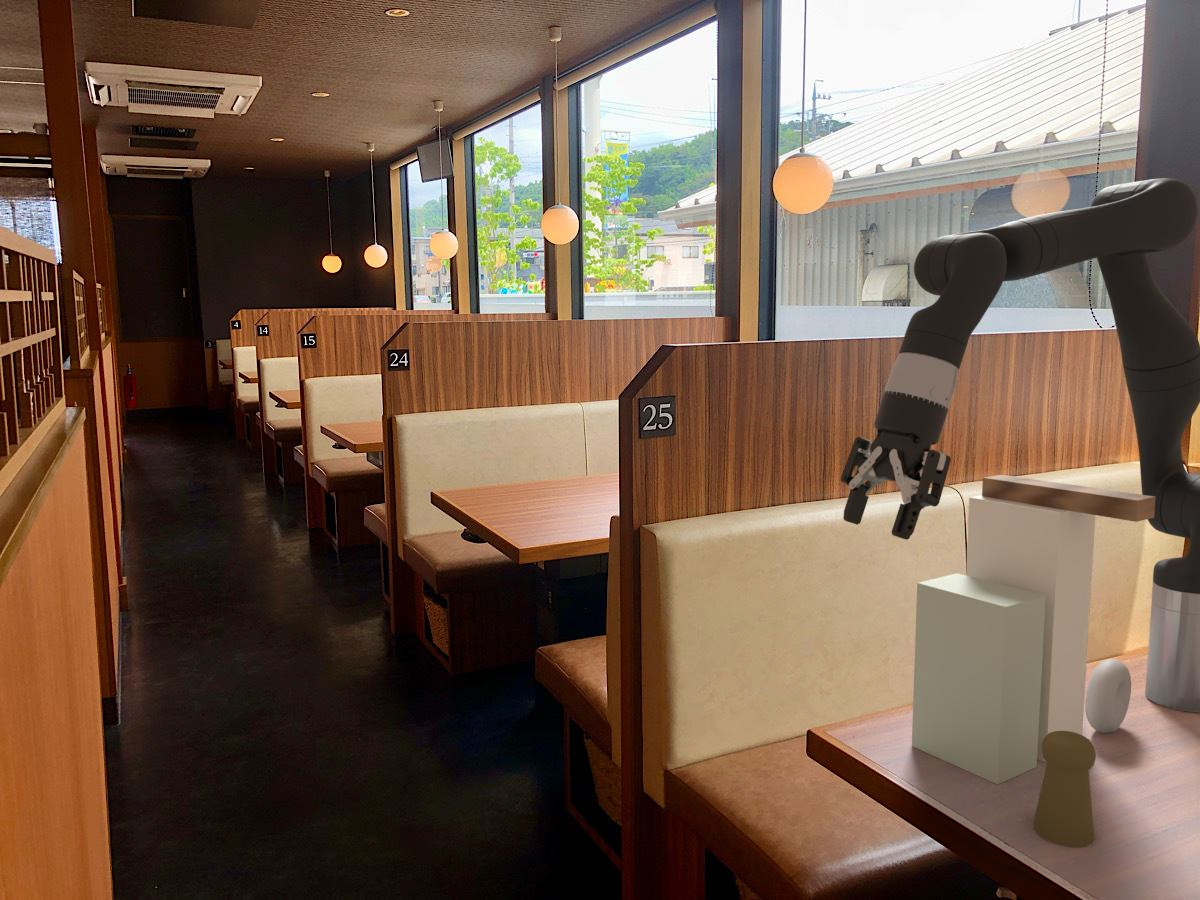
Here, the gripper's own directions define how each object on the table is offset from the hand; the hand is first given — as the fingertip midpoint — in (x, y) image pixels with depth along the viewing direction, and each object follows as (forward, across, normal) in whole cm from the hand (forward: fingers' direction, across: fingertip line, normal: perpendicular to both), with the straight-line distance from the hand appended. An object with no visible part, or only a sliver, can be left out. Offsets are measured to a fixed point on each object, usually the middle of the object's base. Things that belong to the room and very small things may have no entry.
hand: (874, 529), depth 109 cm
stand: (+22, -1, -30) cm, 37 cm away
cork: (+25, -19, -21) cm, 38 cm away
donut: (+16, -4, -46) cm, 49 cm away
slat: (-10, -4, -25) cm, 27 cm away
